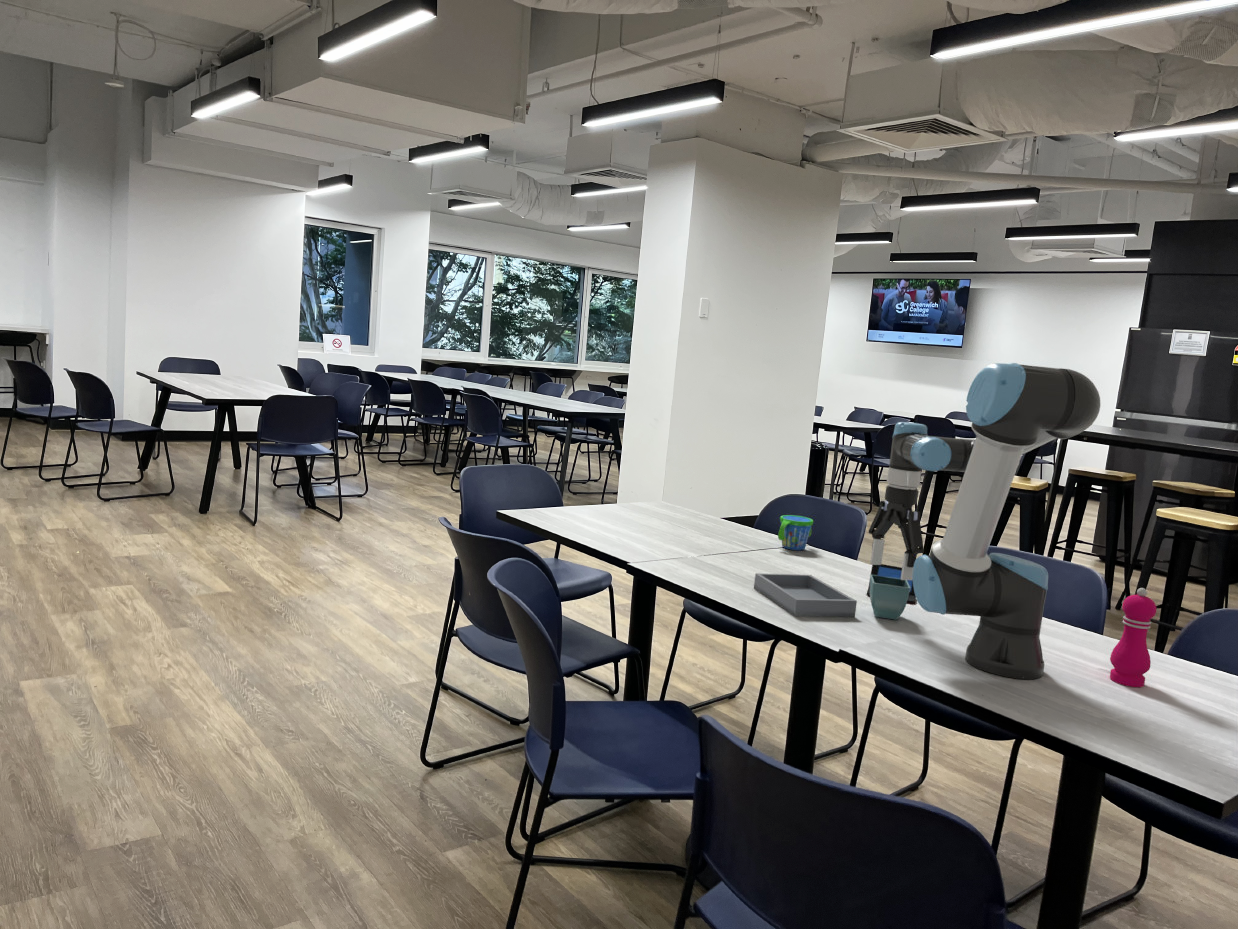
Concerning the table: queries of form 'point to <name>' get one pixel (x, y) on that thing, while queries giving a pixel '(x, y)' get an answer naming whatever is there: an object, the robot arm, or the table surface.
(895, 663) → the table surface
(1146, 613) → the pepper mill
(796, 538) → the snack cup
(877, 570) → the handheld game console
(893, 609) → the flower pot
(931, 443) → the robot arm
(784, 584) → the tray
